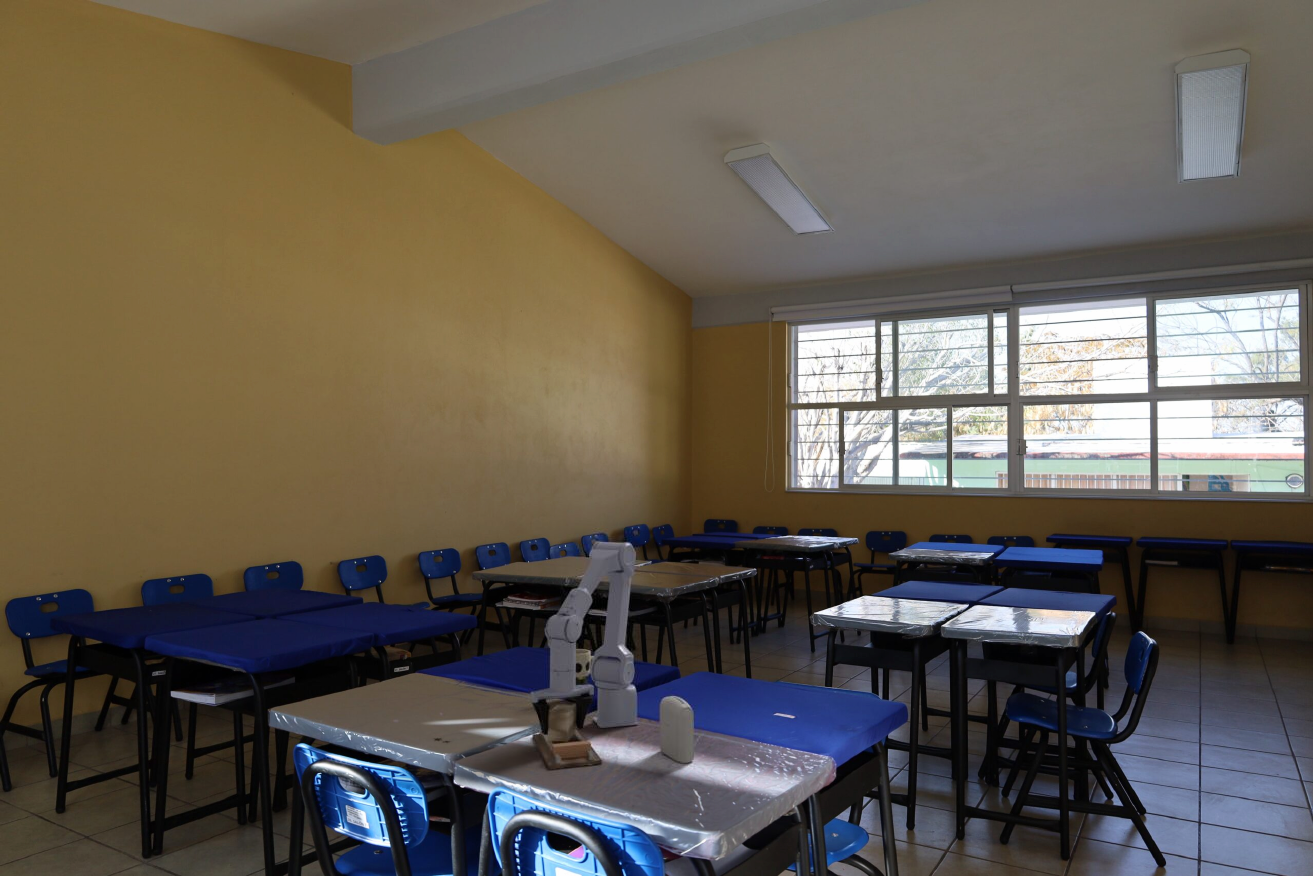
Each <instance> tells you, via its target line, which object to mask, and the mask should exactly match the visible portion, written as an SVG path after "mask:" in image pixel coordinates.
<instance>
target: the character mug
mask: <svg viewBox="0 0 1313 876" xmlns="http://www.w3.org/2000/svg"><path fill="white" fill-rule="evenodd" d="M591 653H592V652H591V650H589V649H583V648H576V685H589V683H588V679H587V677H588V676H589V675H591V674H590V668H591V664H592V662H593V659H594V655H591ZM566 699H568V700H570V701H574V702H575V696H573V697H566Z"/></svg>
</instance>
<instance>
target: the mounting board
mask: <svg viewBox="0 0 1313 876" xmlns="http://www.w3.org/2000/svg"><path fill="white" fill-rule="evenodd" d="M576 730H577V731H578V733H579V734H580V735H581V737H582V738H583V739H584V741H588V739H587V738H586V737H585V736H584V734H583V733H582V731H581V729H576ZM532 740H533V741H534V744H535V745H536V747H537V749H538V751H539V753H540V755H541V756H542V758H543V760H544V762H545V764H546V766H547V768H548V767H549V768H548V769H550V770H557V769H556V768H560V769H565V768H564V767H569V768H573V767H572V766H579V767H581V766H580V765H588V766H590V765H589V764H597V765H603V759H602V758H601V757H600V756H599V755H598V752H597V751H595V749H594V747H593V746H592V745H591V750H592V752H593V753H594V760H589V759H588V758H587V756H582V757H572V758H562V759H561V764H556V763H555V761H554V759H553V757H552V756H551V754H550V752H549V750H548V749H547V747H546V745H545V743H544V742H543V740H542V738H541V736H540V735H539V733H534V734H532ZM551 742H552V743H553V744H560V743H570V742H576V740H575V739H574V738H573V736H572V737H571V738H570V739H569V740H568V742H564V741H551Z"/></svg>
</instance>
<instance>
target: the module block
mask: <svg viewBox="0 0 1313 876" xmlns="http://www.w3.org/2000/svg"><path fill="white" fill-rule="evenodd" d="M576 730H577V727H576V704H556V705H555V706H554V707H552V709H551V710H550V709H549V716H548V741H564V742H568V740H569V739H570V738H571V737H572V736H573V735H574V734H575V733H576Z"/></svg>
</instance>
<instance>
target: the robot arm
mask: <svg viewBox="0 0 1313 876" xmlns="http://www.w3.org/2000/svg"><path fill="white" fill-rule="evenodd" d="M636 555H637V552H636V550H635V549H634V546H633V545H632V543H631V542H628V541H627V542H611V541H608V542H606V541H595V542H594V544H593V545H592V547H591V550H590V551H589V564H588V566H587V568H586V570H585V573H584V574H583V577H582V578H581V580H580V583H579V585H578V587H577V588H571V590H570V591H569V593H568V595H567V597H566V598H565V600H564V601H563V603H562V605H561V607H560V608H559V610H558V612H557V613H556V614H554V615H552V616H550V617H549V618H548V619H547V621H546V624H545V625H546V626H545V628H544V635H545V637H546V639H547V646H548V648H549V649H550V650H549V651H550V652H549V654H550V655H549V662H550V663H549V671H550V672H549V688H544V689H540V690H536V691H530V702H531V704H532V706H533V709H534V710H535V711H534V712H536V715H537V719H538V721H539V725H540V729H541V732H542V733H543V734H544V735H548V716H549V711H550V708H551V705H550V704H549V703H548V701H551V700H558V699H565V698H566V697H573V696H575V701H574V702H575V705H576V729H577V728H578V730H583V728H584V725H585V720H586V717H587V715H588V714H587V713H588V712H589V709H590V708H591V705H592V703H593V702H594V701H593V700H594V697H593V696H594V693H595V691H594V690H595V686H596V687H597V716H594V717H592V721H594V722H595V723H597V726H598V727H599V728H601V729H604V728H606V729H607V728H615V727H617V728H618V727H626V726H638V724H639V723H638V694H637V689H636V687H635V685H634V684H632V682H633V680H634V677H635V666H634V657H635V656H634V654H633V653H632V652H631V651H630V650H629V649H628V648H627V647H626V635H627V626H628V625H627V624H628V617H629V616H628V615H629V605H630V595H631V584H632V577H634V576H635V567H636V557H637V556H636ZM605 576H607V578H608V580H609V589H608V598H607V599H608V600H607V608H606V618H605V619H606V620H605V628H604V638H603V639H604V640H603V644H602V645H601V646H600V647H599V648H597V649H596V650H595V651H594V653H593V654H594V655H593V656H594V659H593V662H592V661H591V668H590V674H589V675H590V677H591V680H592V681H593V682H594V685H595V686H594V685H593V684H589V683H588V685H576V649H577V646H576V645H577V640H579V638H580V636H581V634H582V630H583V628H582V627H583V625H584V618H585V616H586V614H587V612H588V611H589V609H590V608H591V605H592V603H593V597H592V594H593V592H594V591H595V590H596V588H597V587H598V586H599V584H600V582H601V581H602V579H603V578H604V577H605ZM592 695H593V696H592ZM566 699H567V698H566Z"/></svg>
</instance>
